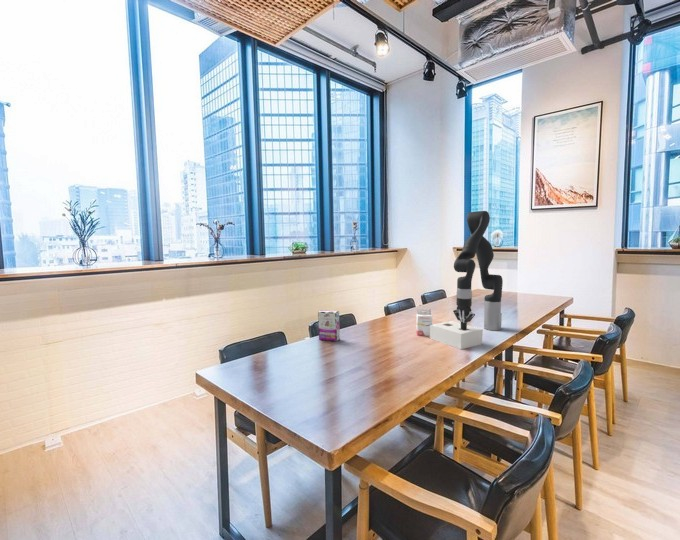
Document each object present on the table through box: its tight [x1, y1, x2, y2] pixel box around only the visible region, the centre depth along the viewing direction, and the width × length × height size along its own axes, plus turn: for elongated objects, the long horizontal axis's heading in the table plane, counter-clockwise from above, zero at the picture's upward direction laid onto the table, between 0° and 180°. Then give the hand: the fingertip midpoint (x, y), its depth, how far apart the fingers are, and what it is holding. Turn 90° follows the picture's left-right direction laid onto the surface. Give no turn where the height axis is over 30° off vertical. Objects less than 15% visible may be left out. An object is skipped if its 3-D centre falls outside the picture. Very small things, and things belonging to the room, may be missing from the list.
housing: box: [429, 320, 484, 350], centre depth 192 cm, size 16×22×8 cm
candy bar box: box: [317, 309, 341, 342], centre depth 200 cm, size 11×5×16 cm, turn 68°
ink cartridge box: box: [415, 308, 433, 337], centre depth 206 cm, size 9×5×15 cm, turn 84°
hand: (463, 329), depth 187 cm, fingers closed
